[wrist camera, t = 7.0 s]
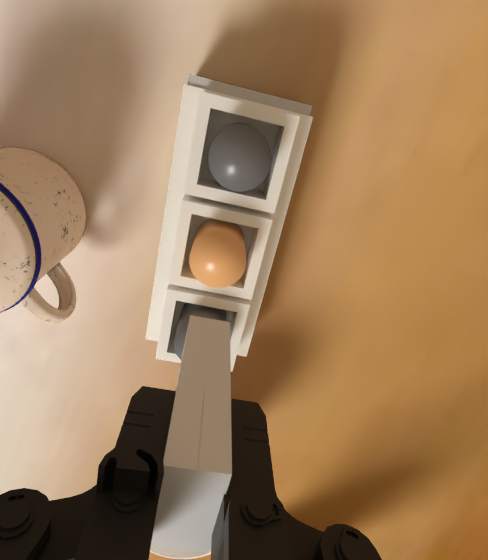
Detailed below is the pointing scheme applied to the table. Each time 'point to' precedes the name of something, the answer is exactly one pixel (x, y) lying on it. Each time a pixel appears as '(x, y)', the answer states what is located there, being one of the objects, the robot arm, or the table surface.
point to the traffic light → (223, 207)
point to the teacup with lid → (37, 231)
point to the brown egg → (218, 253)
